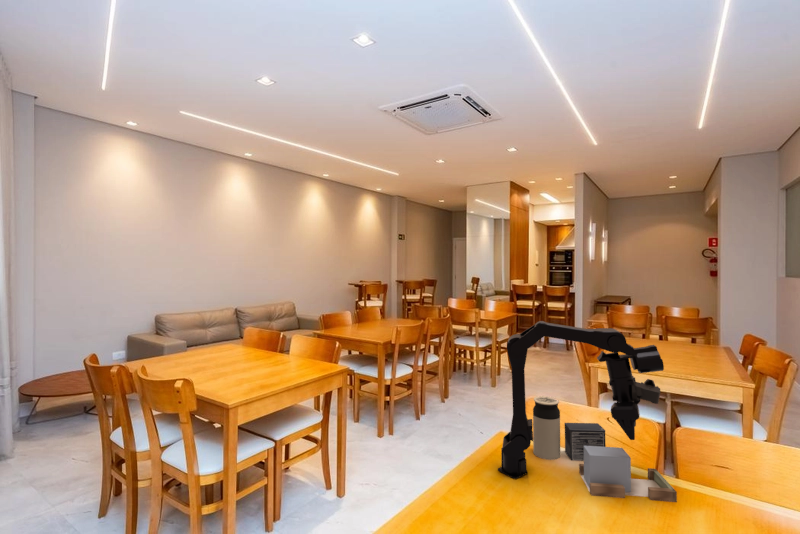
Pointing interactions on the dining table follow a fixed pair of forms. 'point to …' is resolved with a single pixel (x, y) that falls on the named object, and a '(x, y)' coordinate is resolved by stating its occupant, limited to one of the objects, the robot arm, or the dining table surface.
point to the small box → (582, 438)
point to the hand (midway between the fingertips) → (633, 432)
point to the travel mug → (546, 428)
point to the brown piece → (635, 487)
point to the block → (607, 466)
